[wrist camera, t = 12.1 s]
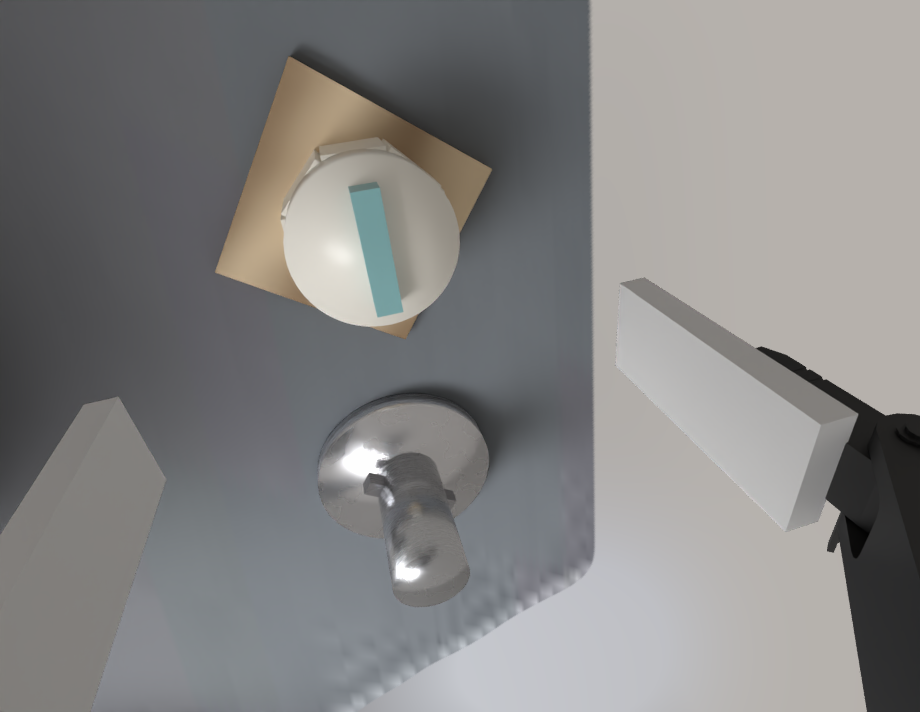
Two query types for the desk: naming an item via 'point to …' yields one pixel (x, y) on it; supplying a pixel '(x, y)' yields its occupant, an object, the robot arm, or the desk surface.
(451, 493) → the bayonet post
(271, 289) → the coaster
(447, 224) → the cap
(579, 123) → the desk surface
